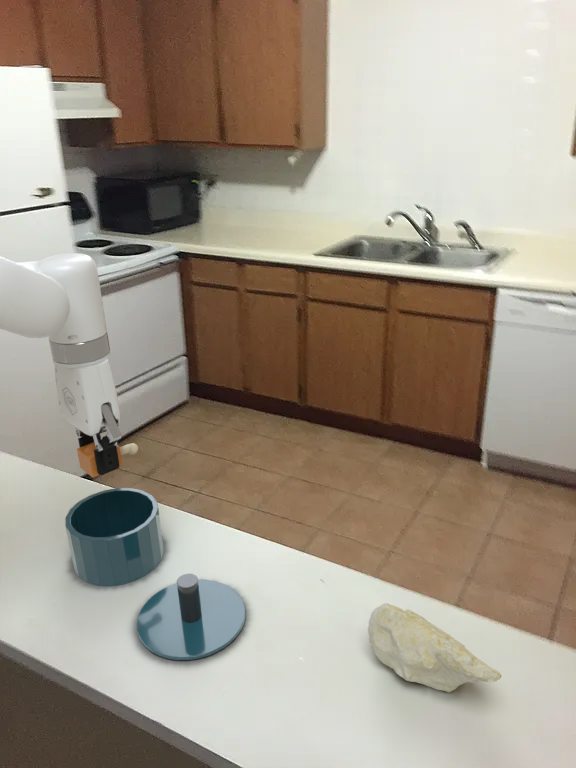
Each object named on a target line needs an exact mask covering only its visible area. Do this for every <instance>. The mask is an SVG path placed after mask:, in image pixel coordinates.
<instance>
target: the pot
mask: <svg viewBox="0 0 576 768" xmlns="http://www.w3.org/2000/svg"><path fill="white" fill-rule="evenodd" d="M64 521H65V522H64V523H65V525H64V526H65V531H66V535H67V540H68V545H69V551H70V555H71V559H72V565H73V569H74V571H75V574H76V575H77V576H78V578H79V579H80V580H82V581H83V582H85V583H87V584H90V585H93V586H97V587H98V586H99V587H118V586H122V585H127V584H131V583H133V582H136V581H138V580H140V579H143V578H144V577H147V576H148V575H149V574H150V573H151V572H153V571H154V570H155V569H156V568H157V567H158V566H159V564H160V563H161V561H162V559H163V556H164V550H165V549H164V548H165V547H164V540H163V533H162V525H161V518H160V510H159V505H158V501H157V499H156V498H155V497H154V496H153V495H152V494H151V493H149V492H147V491H144V490H142V489H139V488H134V487H133V488H132V487H115V488H110V489H104V490H101V491H98V492H95V493H92V494H89V495H88V496H86V497H84V498H83V499H81V500H79V501H78V502H76V503H75V504H74V505H73V506H72V507H71V508H70V509H69V510H68V512H67V514H66V516H65V519H64Z"/></svg>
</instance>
